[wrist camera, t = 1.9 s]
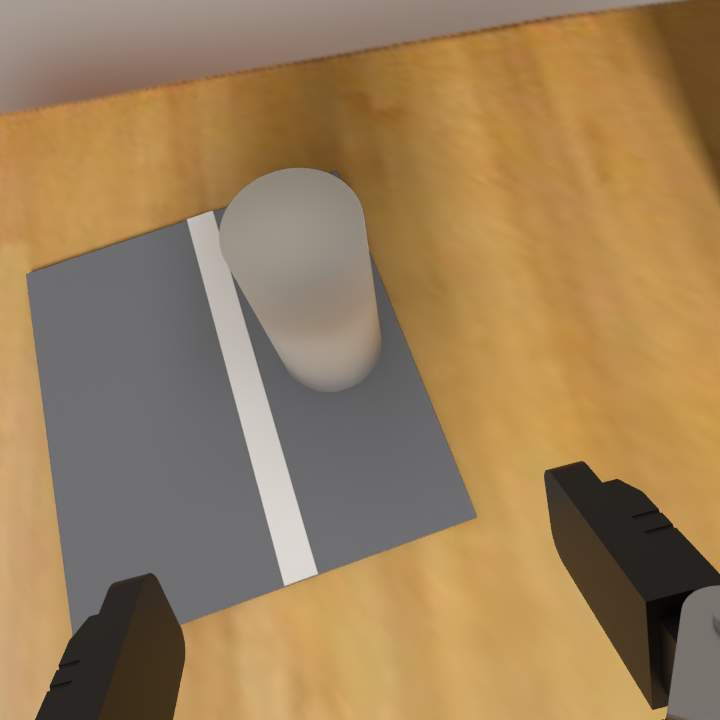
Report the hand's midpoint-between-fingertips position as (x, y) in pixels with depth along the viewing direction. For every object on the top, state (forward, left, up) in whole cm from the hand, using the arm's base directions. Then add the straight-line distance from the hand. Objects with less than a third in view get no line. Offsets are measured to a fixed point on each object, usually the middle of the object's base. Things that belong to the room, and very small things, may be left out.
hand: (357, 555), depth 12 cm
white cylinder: (-1, -11, -14) cm, 18 cm away
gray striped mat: (+5, -11, -15) cm, 19 cm away
